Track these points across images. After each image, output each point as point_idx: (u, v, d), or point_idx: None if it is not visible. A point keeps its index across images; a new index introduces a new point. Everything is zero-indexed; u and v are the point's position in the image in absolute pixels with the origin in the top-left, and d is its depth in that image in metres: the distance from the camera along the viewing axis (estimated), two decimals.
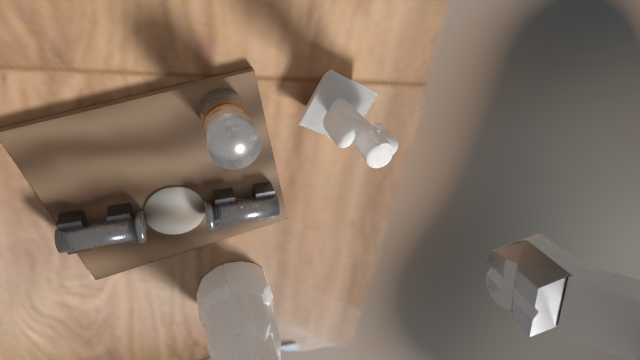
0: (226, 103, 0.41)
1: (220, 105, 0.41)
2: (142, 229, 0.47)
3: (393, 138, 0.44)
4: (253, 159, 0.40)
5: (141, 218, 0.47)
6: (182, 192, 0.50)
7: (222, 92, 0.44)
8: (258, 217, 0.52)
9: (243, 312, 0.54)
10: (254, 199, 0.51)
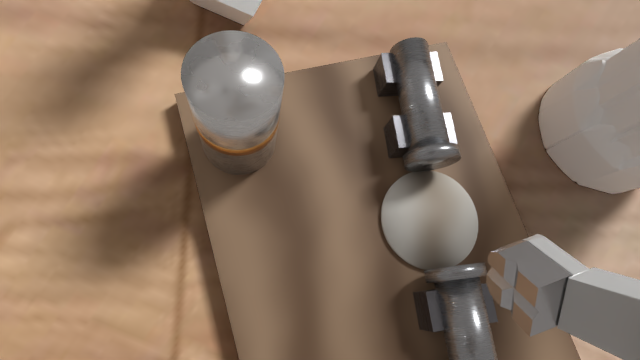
0: None
1: (195, 124, 0.24)
2: (453, 268, 0.25)
3: None
4: (263, 43, 0.21)
5: (433, 270, 0.25)
6: (391, 205, 0.29)
7: None
8: (430, 72, 0.29)
9: None
10: (397, 84, 0.29)
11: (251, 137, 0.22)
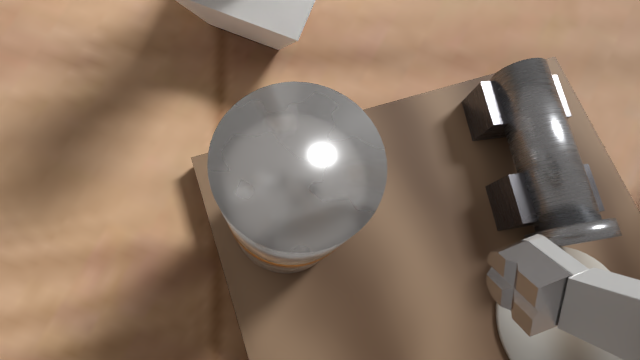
0: None
1: None
2: None
3: None
4: (344, 102, 0.12)
5: None
6: None
7: None
8: (560, 109, 0.20)
9: None
10: (509, 127, 0.20)
11: (325, 254, 0.13)
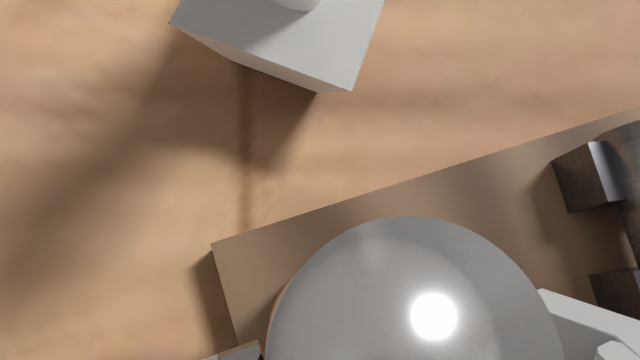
0: None
1: None
2: None
3: None
4: (485, 249, 0.07)
5: None
6: None
7: None
8: None
9: None
10: (629, 204, 0.15)
11: None
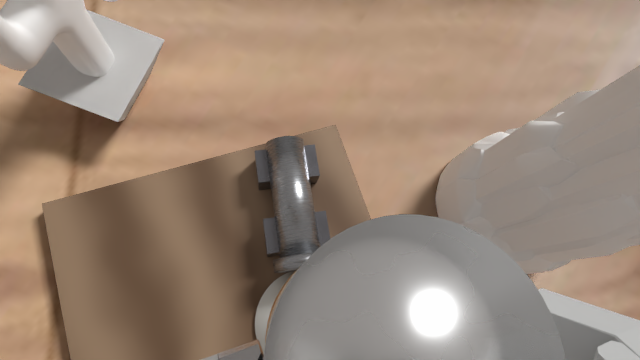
0: None
1: None
2: None
3: None
4: (485, 248, 0.07)
5: None
6: (265, 310, 0.28)
7: None
8: (299, 173, 0.28)
9: (504, 183, 0.25)
10: (270, 184, 0.29)
11: None
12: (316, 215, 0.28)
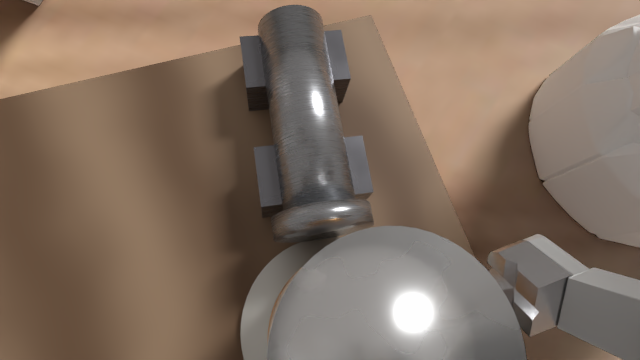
0: None
1: None
2: None
3: None
4: (458, 255, 0.08)
5: None
6: (259, 307, 0.16)
7: None
8: (317, 66, 0.16)
9: None
10: (266, 90, 0.17)
11: None
12: (346, 142, 0.16)
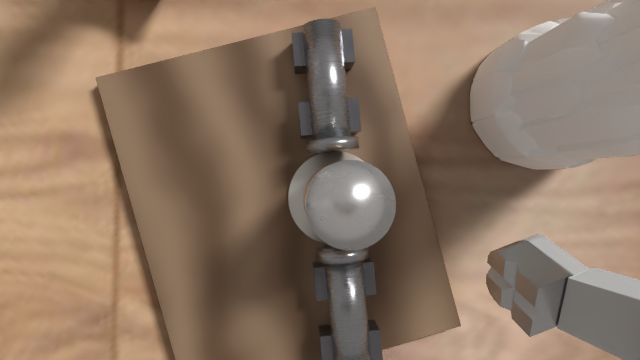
0: None
1: None
2: (331, 254, 0.28)
3: None
4: (377, 172, 0.23)
5: (318, 252, 0.29)
6: (298, 185, 0.31)
7: None
8: (334, 58, 0.28)
9: (540, 78, 0.25)
10: (306, 68, 0.29)
11: None
12: (349, 101, 0.30)
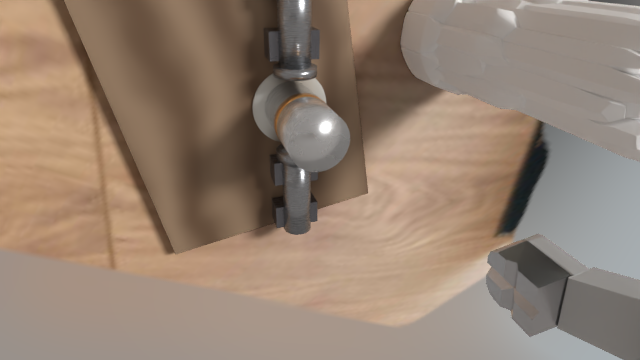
0: (274, 123, 0.35)
1: (276, 132, 0.35)
2: None
3: None
4: (340, 120, 0.31)
5: (280, 154, 0.38)
6: (261, 97, 0.38)
7: (267, 112, 0.37)
8: None
9: (459, 47, 0.33)
10: None
11: None
12: (311, 33, 0.35)
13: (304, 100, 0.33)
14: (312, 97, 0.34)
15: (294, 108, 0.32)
